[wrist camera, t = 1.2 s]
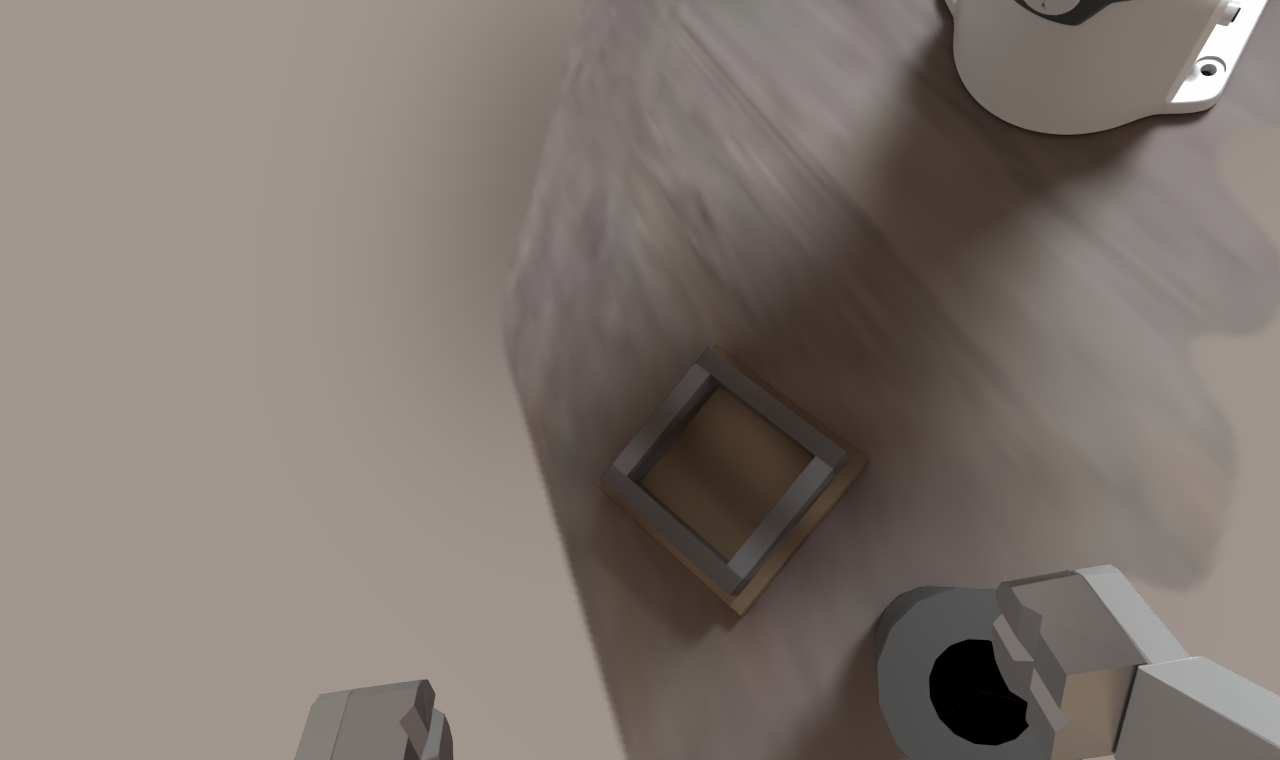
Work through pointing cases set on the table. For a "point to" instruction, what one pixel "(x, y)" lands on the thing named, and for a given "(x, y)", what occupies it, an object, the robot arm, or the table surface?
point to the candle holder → (948, 679)
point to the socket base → (731, 477)
